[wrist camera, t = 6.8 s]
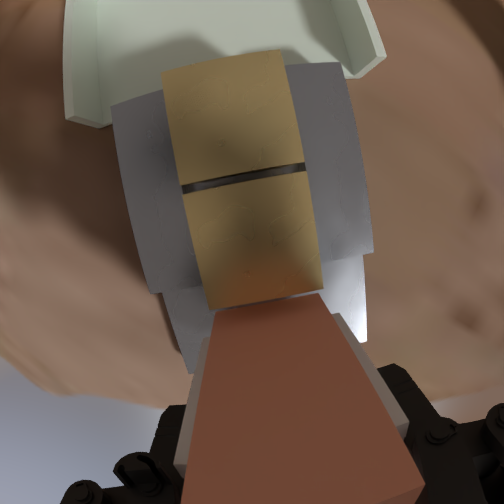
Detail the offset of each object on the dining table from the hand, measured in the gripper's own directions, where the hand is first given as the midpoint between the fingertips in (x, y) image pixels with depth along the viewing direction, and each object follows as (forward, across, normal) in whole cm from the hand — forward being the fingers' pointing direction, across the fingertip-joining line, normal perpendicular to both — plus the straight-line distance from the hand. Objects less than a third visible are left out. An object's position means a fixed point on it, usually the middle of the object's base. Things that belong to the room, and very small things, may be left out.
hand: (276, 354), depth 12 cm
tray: (+4, 0, +17) cm, 18 cm away
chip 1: (+3, 0, +9) cm, 10 cm away
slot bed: (+4, 0, +5) cm, 6 cm away
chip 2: (+3, 0, +5) cm, 6 cm away
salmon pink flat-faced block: (0, 0, 0) cm, 0 cm away
